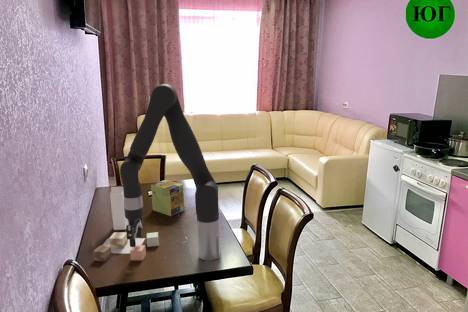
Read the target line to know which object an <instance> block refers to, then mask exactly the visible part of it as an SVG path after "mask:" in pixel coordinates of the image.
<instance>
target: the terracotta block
mask: <svg viewBox="0 0 468 312" xmlns="http://www.w3.org/2000/svg"><path fill="white" fill-rule="evenodd" d="M146 250H147V248H146V245H145V244H142V245H136V246H135V247H132V249H131V250H130V261H143V260H144V259H145V257H146V255H147V252H146Z"/></svg>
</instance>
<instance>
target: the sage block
mask: <svg viewBox="0 0 468 312" xmlns="http://www.w3.org/2000/svg"><path fill="white" fill-rule="evenodd" d="M146 245H147V248H151V247H157V246H160V243H159V231H157V232H156V231H155V232H147V233H146Z"/></svg>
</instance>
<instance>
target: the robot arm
mask: <svg viewBox="0 0 468 312" xmlns="http://www.w3.org/2000/svg"><path fill="white" fill-rule="evenodd" d="M163 118H165V120H166V123H167V126H168V130H169V134H170V138H171V142H172V145H173V147H174V150H175V151H176V154H177V155H178V158H179V160H180V161H181V162H182V164H183V165H184V166H185V167H186V169H187V170H188V171H189V173H190V175H191V177H192V180H193V183H194V186H195V193H194V199H195V200H194V201H195V214H196V224H197V225H196V226H197V227H196V229H197V246H198V247H197V248H198V258H199V259H200V260H202V261H205V262H210V261H215V260H219V259H221V252H222V250H221V249H222V247H221V232H220V212H219V211H220V210H219V187H218V184H217V182H216V180H215V179H214V177H213V176H212V174H211V172H210V170H209V169H208V167H207V163H206V161H205V158H204V154H203V151H202V149H201V146H200V144H199V142H198V140H197V137H196V136H195V134H194V132H193V129H192V127H191V126H190V123H189V122H188V120H187V119H186V118H187V117H186V116H185V114H184V111H183V109H182V106H181V103H180V100H179V97H178V94H177V91H176V89H175V88H174V87H173V86H172V85H171V84H168V83H162V84H159V85H157V86H155V87H154V88H153V89H152V90H151V95H150V99H149V102H148V106H147V109H146V112H145V115H144V117H143V120H142V122H141V124H140V126H139V128H138V130H137V132H136V134H135V135H134V138H133V140H132V142H131V144H130V148H129V151H128V154H127V156H126V157H125V159H124V161H123V162H122V163H121V165H120V168H119V175H120V178H121V179H120V180H121V183H122V187H123V191H124V212H125V218H126V219H128V225H127V226H126V229H125V230H126V231H125V232H127V239H129V240H130V247H135V246H136V241H135V238H142V237H143V232H142V231H143V226H144V218H143V217H144V215H145V214H144V213H145V212H144V200H143V192H142V184H141V182H140V181H139V172H140V170H141V168H142V166H143V163H144V162H145V159H146V156H147V155H148V153H149V152H150V149H151V147H152V145H153V142H154V140H155V137H156V135H157V132H158V129H159V127H160V124H161V122H162V120H163Z"/></svg>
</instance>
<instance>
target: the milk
mask: <svg viewBox="0 0 468 312" xmlns="http://www.w3.org/2000/svg"><path fill="white" fill-rule="evenodd" d="M109 199H110V200H109V201H110V207H111V208H110V209H111V218H112V225H113V226H112V227H113V230H114V231H121V230H123V231H124V230H126V226H127V225H129V220H128V219H126V218H125V212H124V191H123V186H111V187H110V193H109Z"/></svg>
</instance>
